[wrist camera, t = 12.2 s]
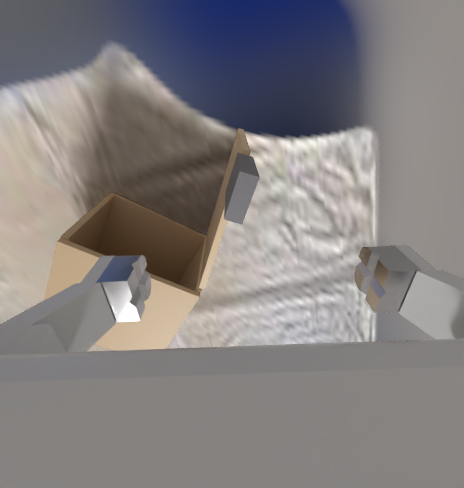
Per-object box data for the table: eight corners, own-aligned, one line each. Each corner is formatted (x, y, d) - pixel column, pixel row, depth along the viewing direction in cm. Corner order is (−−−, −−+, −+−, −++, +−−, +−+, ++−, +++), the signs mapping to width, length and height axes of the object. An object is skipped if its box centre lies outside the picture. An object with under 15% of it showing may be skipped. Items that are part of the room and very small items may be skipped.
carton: (88, 263, 39) (37, 326, 29) (111, 191, 33) (57, 238, 23) (174, 296, 42) (156, 363, 32) (209, 236, 36) (200, 295, 26)
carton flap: (235, 127, 29) (241, 165, 14) (246, 130, 29) (261, 172, 15) (205, 231, 36) (188, 327, 21) (213, 233, 36) (202, 329, 22)
